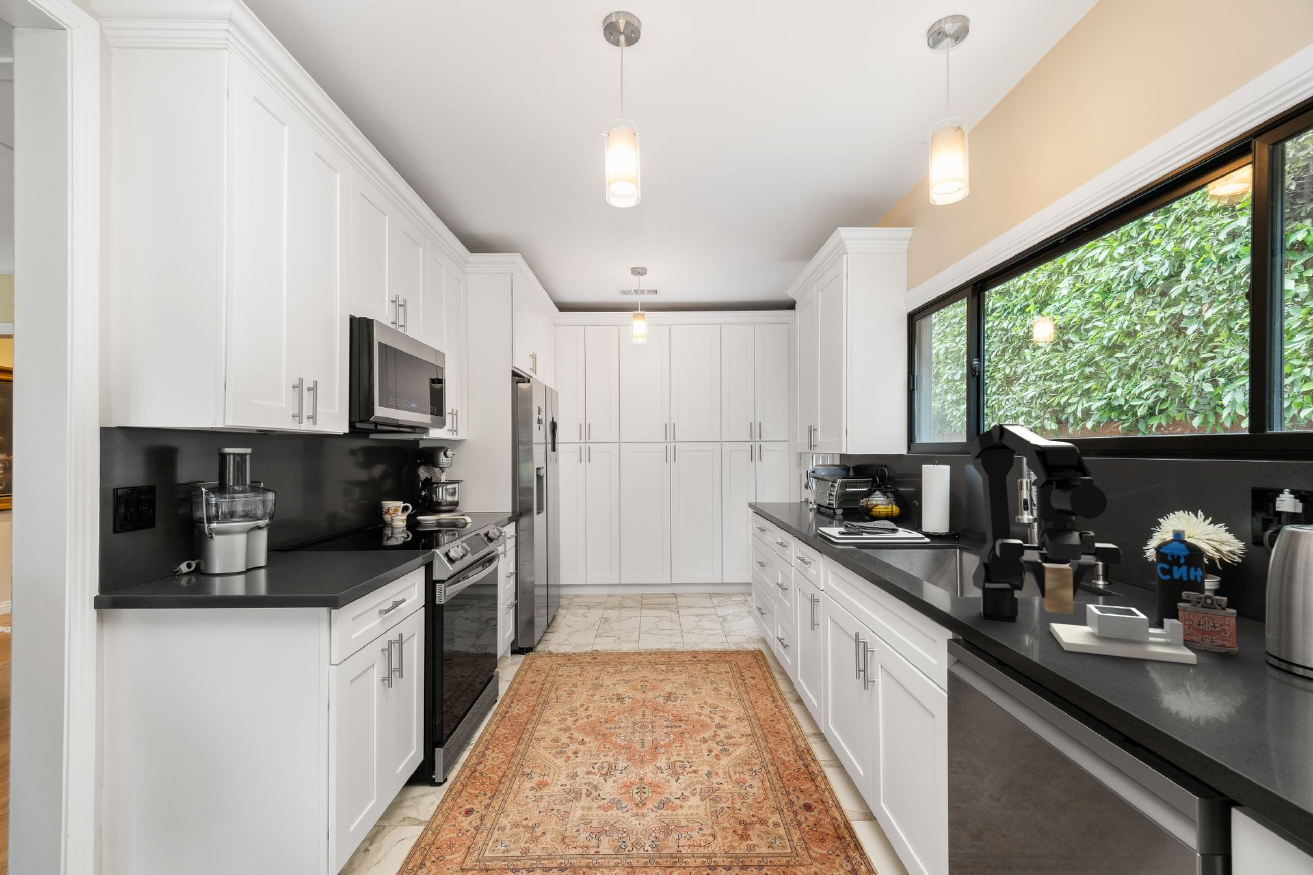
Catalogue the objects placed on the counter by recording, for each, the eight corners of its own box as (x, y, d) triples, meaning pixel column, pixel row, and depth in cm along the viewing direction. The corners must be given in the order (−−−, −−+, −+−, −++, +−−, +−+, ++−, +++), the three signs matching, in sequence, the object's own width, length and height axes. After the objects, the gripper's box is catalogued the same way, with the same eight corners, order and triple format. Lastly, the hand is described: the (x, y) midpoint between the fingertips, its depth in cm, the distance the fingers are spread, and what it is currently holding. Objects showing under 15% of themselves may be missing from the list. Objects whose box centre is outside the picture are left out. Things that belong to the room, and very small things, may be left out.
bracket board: (1064, 650, 110) (1064, 642, 110) (1050, 630, 122) (1050, 622, 122) (1196, 664, 102) (1196, 655, 102) (1167, 641, 114) (1166, 633, 114)
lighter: (1237, 650, 109) (1235, 595, 110) (1237, 654, 107) (1236, 598, 107) (1178, 640, 115) (1177, 588, 115) (1178, 645, 112) (1176, 591, 113)
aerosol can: (1157, 618, 130) (1155, 526, 130) (1209, 625, 124) (1206, 529, 125) (1153, 626, 124) (1150, 529, 125) (1206, 634, 118) (1203, 533, 119)
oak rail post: (1046, 611, 107) (1045, 567, 107) (1042, 606, 111) (1041, 563, 111) (1073, 613, 106) (1072, 568, 106) (1068, 608, 109) (1067, 564, 110)
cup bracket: (1097, 641, 110) (1097, 614, 110) (1087, 629, 117) (1086, 604, 117) (1188, 650, 105) (1188, 621, 105) (1171, 637, 112) (1171, 610, 112)
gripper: (1002, 515, 105) (1004, 604, 105) (1133, 519, 98) (1135, 615, 97) (994, 509, 115) (996, 590, 115) (1112, 512, 108) (1114, 599, 108)
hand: (1057, 598), depth 108 cm, fingers closed on oak rail post, 4 cm apart
